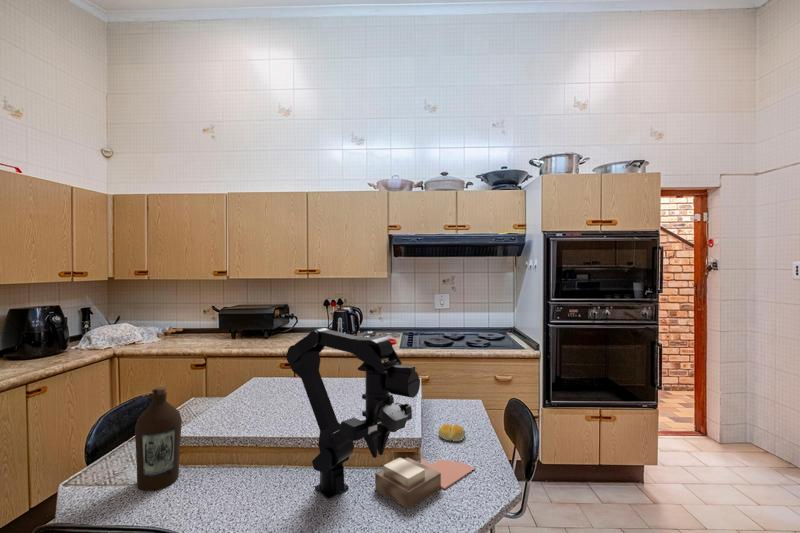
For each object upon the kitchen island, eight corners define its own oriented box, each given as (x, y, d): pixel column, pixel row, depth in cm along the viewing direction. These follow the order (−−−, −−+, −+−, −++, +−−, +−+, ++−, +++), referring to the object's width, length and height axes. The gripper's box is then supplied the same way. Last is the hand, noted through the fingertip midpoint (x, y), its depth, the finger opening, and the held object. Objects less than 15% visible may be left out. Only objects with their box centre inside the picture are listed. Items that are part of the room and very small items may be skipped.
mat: (405, 469, 106) (405, 468, 106) (437, 452, 116) (437, 451, 116) (444, 489, 96) (444, 488, 96) (475, 469, 106) (475, 468, 106)
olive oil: (135, 478, 102) (136, 386, 102) (180, 467, 108) (180, 380, 108) (133, 498, 93) (134, 397, 94) (182, 484, 99) (183, 389, 99)
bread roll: (441, 430, 133) (441, 419, 133) (466, 434, 130) (466, 422, 130) (435, 440, 125) (435, 428, 125) (462, 444, 122) (461, 432, 122)
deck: (375, 488, 97) (375, 473, 97) (407, 471, 105) (407, 457, 105) (408, 509, 88) (408, 492, 88) (440, 488, 97) (440, 472, 97)
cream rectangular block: (383, 473, 97) (383, 465, 97) (399, 464, 101) (399, 457, 101) (408, 487, 90) (408, 478, 90) (424, 477, 95) (424, 469, 95)
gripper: (369, 408, 77) (369, 484, 77) (428, 389, 91) (428, 453, 90) (337, 396, 85) (337, 465, 85) (396, 380, 99) (396, 439, 98)
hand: (377, 455), depth 89 cm, fingers closed
